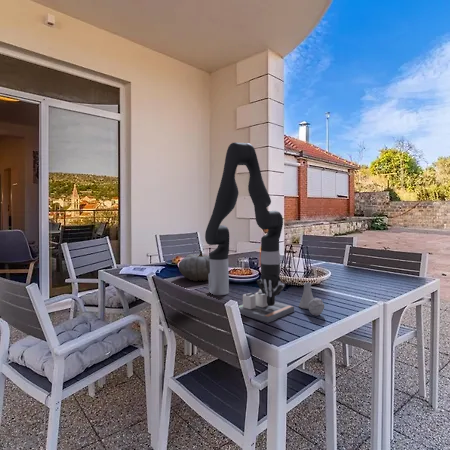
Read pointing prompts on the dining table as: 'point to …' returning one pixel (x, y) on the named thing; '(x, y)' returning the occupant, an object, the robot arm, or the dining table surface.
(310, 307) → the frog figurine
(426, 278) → the dining table surface
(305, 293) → the flask
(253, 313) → the square grey tray
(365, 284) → the dining table surface
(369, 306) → the dining table surface
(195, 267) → the gourd
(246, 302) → the breaker
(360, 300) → the dining table surface
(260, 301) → the tripped breaker
